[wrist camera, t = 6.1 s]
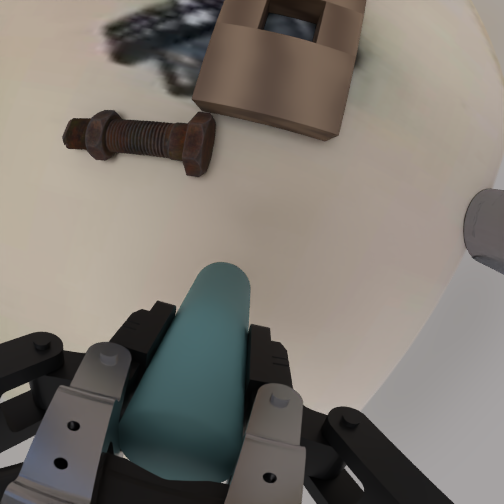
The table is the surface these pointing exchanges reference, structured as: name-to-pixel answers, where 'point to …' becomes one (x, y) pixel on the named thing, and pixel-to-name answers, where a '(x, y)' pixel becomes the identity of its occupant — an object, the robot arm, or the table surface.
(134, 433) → the teal peg
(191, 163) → the bolt
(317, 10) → the walnut hole block
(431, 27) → the table surface
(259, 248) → the table surface
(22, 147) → the table surface
